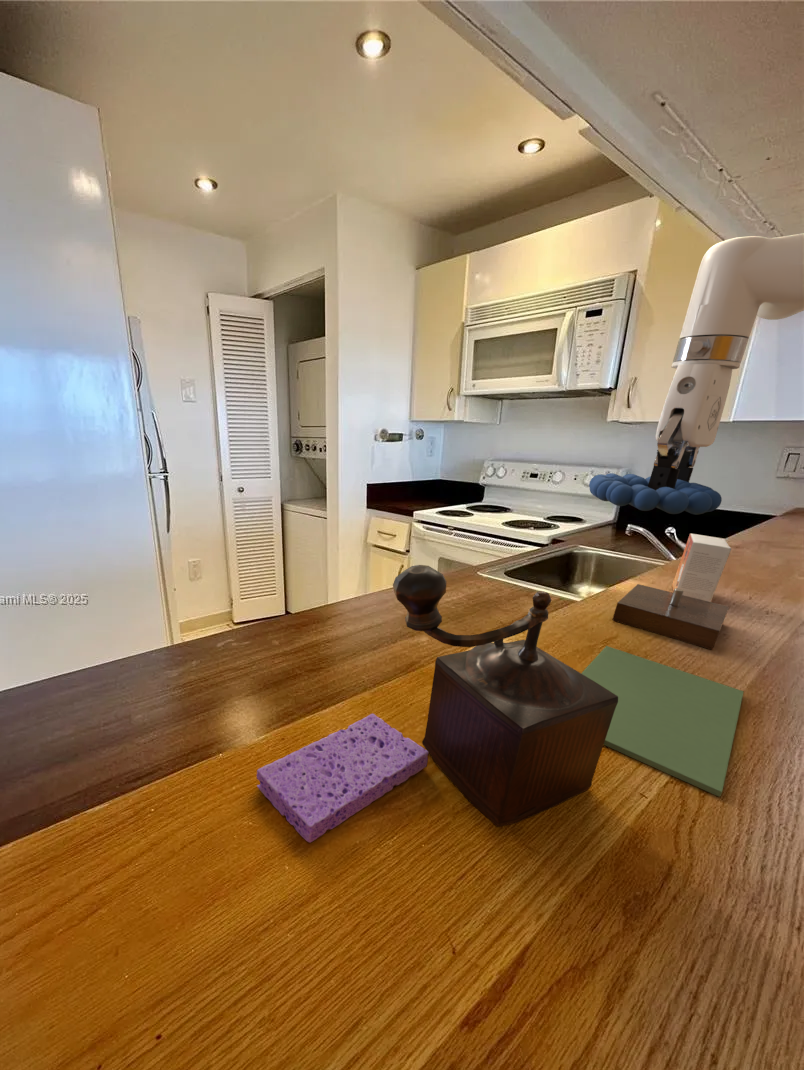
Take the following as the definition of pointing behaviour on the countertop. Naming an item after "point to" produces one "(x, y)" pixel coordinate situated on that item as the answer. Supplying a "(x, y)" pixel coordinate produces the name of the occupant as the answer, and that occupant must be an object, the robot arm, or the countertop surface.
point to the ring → (654, 494)
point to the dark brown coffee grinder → (507, 710)
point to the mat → (669, 717)
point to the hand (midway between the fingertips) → (665, 493)
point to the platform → (672, 615)
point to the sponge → (339, 775)
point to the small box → (701, 566)
